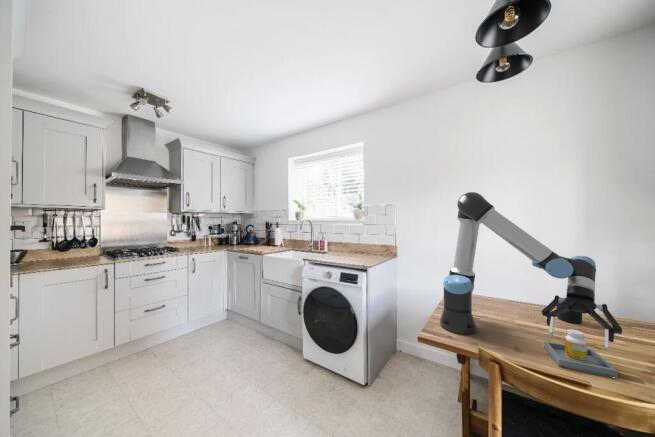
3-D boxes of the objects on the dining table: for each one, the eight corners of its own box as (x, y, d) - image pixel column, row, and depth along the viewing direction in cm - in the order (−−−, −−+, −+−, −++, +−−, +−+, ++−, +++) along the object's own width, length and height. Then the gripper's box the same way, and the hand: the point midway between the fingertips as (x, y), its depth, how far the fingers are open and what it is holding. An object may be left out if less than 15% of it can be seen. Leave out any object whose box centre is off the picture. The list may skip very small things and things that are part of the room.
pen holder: (587, 322, 116) (586, 302, 116) (576, 326, 113) (576, 305, 113) (562, 315, 125) (562, 296, 125) (552, 318, 121) (551, 299, 121)
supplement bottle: (564, 352, 89) (563, 326, 89) (585, 358, 85) (584, 331, 85) (566, 359, 84) (566, 332, 84) (588, 365, 81) (588, 336, 81)
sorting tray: (559, 366, 81) (559, 359, 81) (543, 347, 94) (543, 340, 94) (617, 378, 75) (617, 371, 75) (592, 356, 88) (592, 349, 88)
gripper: (631, 304, 85) (634, 362, 76) (540, 288, 105) (532, 333, 95) (632, 292, 82) (635, 351, 72) (537, 278, 101) (529, 323, 92)
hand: (577, 341), depth 84 cm, fingers open, 13 cm apart
